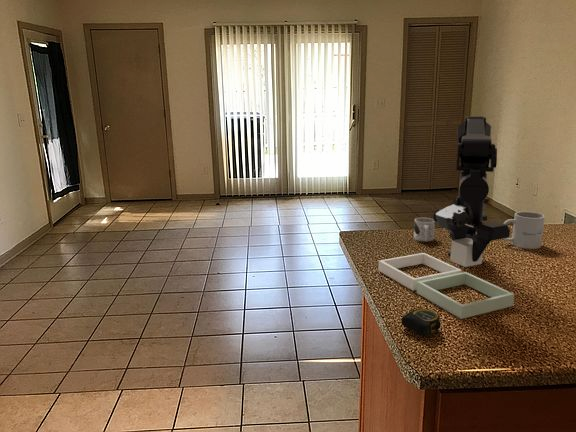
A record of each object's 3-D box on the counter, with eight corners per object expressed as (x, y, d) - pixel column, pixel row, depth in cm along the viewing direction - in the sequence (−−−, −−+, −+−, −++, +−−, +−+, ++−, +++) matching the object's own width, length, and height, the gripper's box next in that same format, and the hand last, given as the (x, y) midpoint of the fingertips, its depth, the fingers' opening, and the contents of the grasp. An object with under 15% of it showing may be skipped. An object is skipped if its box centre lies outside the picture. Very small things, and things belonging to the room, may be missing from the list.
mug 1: (412, 235, 167) (413, 217, 165) (432, 236, 166) (433, 217, 164) (415, 244, 157) (416, 225, 156) (436, 245, 156) (438, 225, 155)
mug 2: (538, 241, 158) (541, 212, 156) (543, 249, 150) (547, 219, 148) (498, 238, 162) (501, 210, 159) (500, 246, 154) (504, 216, 151)
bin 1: (423, 262, 141) (423, 252, 140) (461, 280, 127) (461, 270, 126) (378, 270, 135) (378, 260, 134) (413, 290, 121) (413, 279, 120)
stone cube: (466, 257, 117) (467, 237, 115) (481, 263, 112) (483, 243, 111) (450, 260, 115) (451, 240, 114) (465, 266, 110) (467, 246, 109)
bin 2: (464, 282, 126) (465, 271, 125) (512, 305, 112) (514, 294, 111) (416, 292, 120) (417, 281, 119) (461, 318, 106) (462, 306, 105)
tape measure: (399, 329, 102) (400, 313, 101) (421, 320, 106) (421, 304, 105) (424, 342, 97) (425, 325, 96) (446, 332, 101) (447, 316, 100)
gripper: (417, 189, 115) (413, 251, 119) (475, 205, 98) (468, 276, 102) (453, 185, 119) (449, 244, 123) (515, 200, 102) (507, 268, 106)
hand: (466, 257), depth 113 cm, fingers closed on stone cube, 5 cm apart
